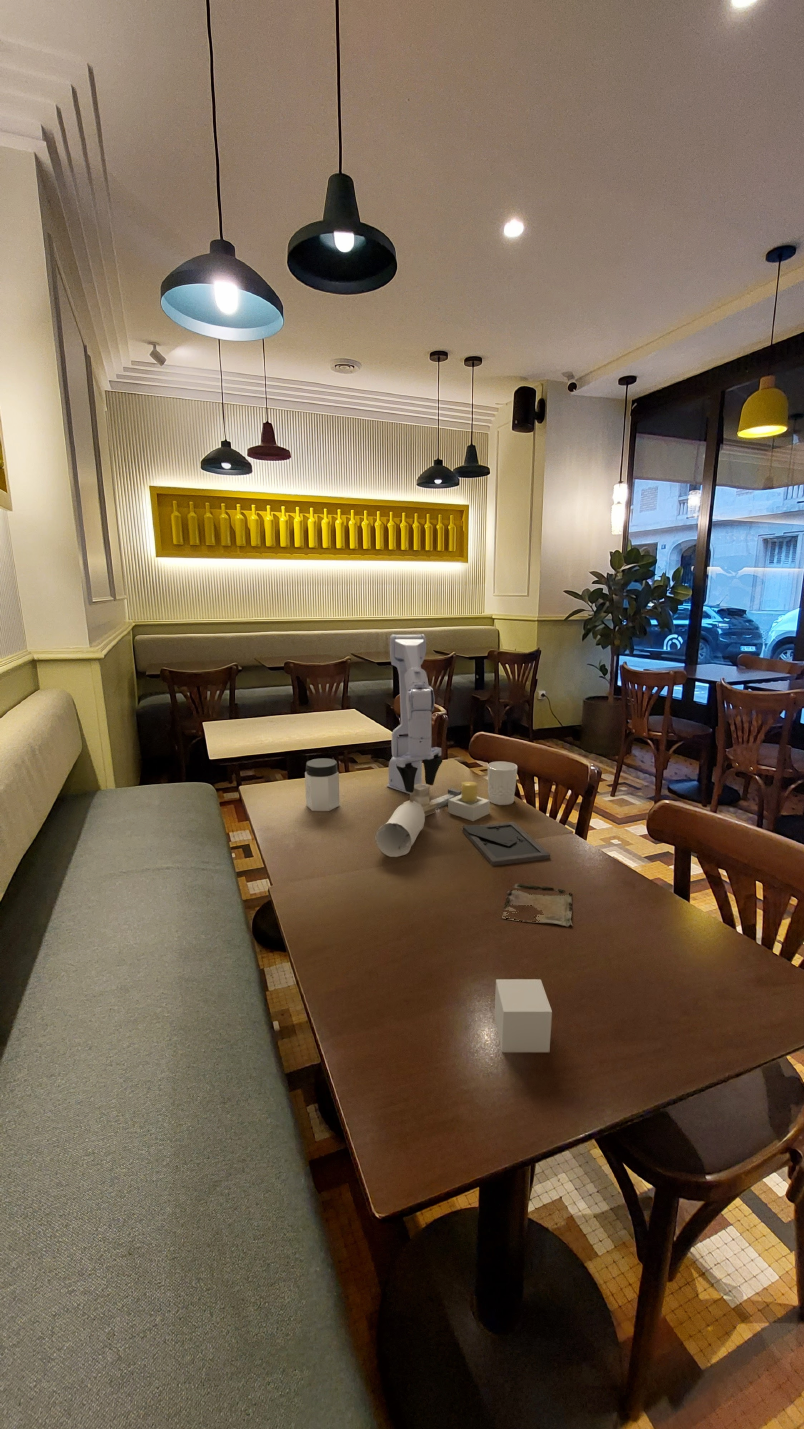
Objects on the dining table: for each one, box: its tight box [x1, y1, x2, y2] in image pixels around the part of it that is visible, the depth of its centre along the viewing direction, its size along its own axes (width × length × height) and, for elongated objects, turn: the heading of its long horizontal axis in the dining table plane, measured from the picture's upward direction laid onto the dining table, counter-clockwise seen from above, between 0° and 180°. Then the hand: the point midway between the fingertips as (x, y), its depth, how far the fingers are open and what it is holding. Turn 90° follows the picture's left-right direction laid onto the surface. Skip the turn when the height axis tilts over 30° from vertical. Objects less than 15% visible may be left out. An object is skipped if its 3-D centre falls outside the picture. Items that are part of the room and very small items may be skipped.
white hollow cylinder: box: [374, 801, 426, 858], centre depth 132 cm, size 8×19×8 cm, turn 163°
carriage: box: [401, 783, 437, 817], centre depth 147 cm, size 6×6×7 cm
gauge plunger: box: [461, 781, 478, 802], centre depth 147 cm, size 4×4×4 cm
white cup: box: [487, 761, 518, 806], centre depth 156 cm, size 8×8×10 cm
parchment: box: [501, 883, 574, 927], centre depth 106 cm, size 12×13×1 cm
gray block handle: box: [430, 787, 462, 810], centre depth 151 cm, size 4×20×2 cm, turn 136°
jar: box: [304, 757, 341, 812], centre depth 152 cm, size 9×8×12 cm
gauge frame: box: [447, 795, 491, 822], centre depth 148 cm, size 8×7×4 cm
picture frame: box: [462, 821, 551, 867], centre depth 130 cm, size 13×2×18 cm
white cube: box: [494, 978, 553, 1053], centre depth 75 cm, size 6×6×6 cm
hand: (419, 788), depth 147 cm, fingers open, 7 cm apart
